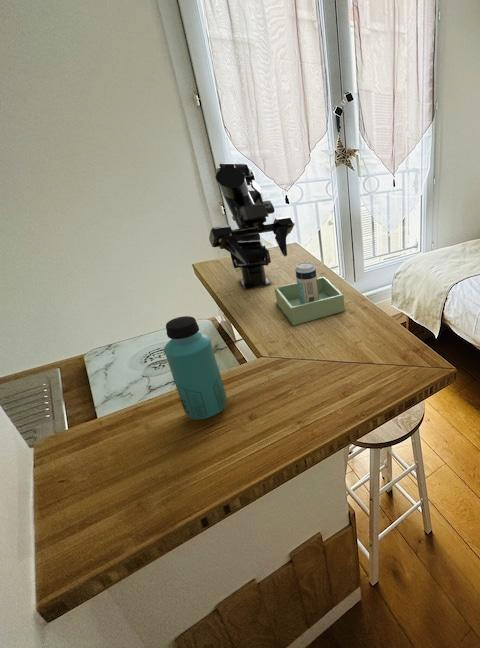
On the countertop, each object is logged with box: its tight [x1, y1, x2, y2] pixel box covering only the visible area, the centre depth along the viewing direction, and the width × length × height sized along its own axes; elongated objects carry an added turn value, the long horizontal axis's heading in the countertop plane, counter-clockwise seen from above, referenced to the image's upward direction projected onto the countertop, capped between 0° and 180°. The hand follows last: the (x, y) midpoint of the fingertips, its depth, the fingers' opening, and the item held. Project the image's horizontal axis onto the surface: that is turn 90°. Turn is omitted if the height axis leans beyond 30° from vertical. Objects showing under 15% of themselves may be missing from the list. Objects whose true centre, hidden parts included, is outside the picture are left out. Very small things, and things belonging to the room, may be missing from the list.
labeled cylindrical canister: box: [294, 262, 319, 305], centre depth 105 cm, size 5×5×12 cm
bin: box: [273, 276, 345, 326], centre depth 107 cm, size 13×13×5 cm
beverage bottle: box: [163, 315, 228, 420], centre depth 68 cm, size 6×7×20 cm
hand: (267, 259), depth 101 cm, fingers open, 9 cm apart
